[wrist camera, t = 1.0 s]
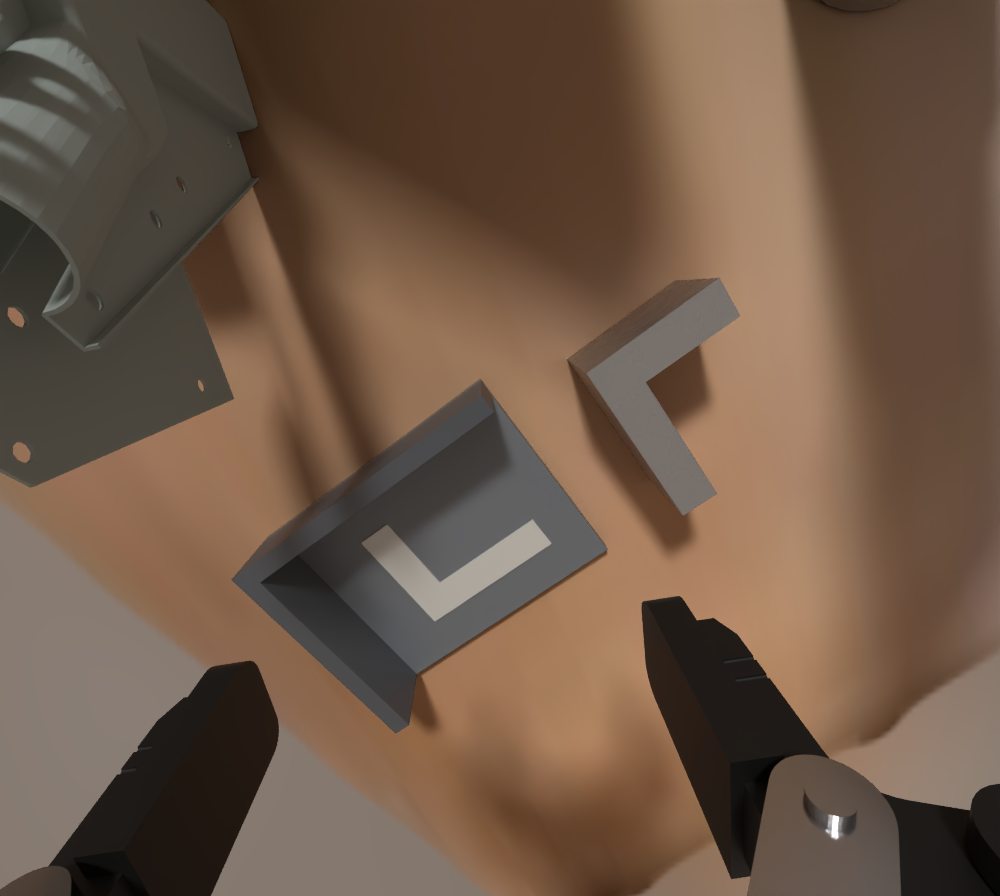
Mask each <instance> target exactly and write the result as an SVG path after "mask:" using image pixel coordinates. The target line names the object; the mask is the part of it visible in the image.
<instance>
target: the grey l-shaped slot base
mask: <svg viewBox="0 0 1000 896" xmlns="http://www.w3.org/2000/svg"><path fill="white" fill-rule="evenodd" d="M606 550H608V549H607V547H606V545H605V544H604V542H603V541H602V540H601V538H600V537H599V536H598V534H597V533H596V532H595V530H594V529H593V528H592V526H591V525H590V524H589V522H588V521H587V520H586V519H585V517H584V516H583V515H582V513H581V512H580V511H579V509H578V508H577V507H576V505H575V504H574V503H573V501H572V500H571V499H570V497H569V496H568V495H567V493H566V492H565V491H564V489H563V488H562V487H561V485H560V484H559V483H558V481H557V480H556V479H555V477H554V476H553V475H552V473H551V472H550V471H549V469H548V468H547V467H546V465H545V464H544V463H543V461H542V460H541V459H540V457H539V456H538V455H537V453H536V452H535V451H534V449H533V448H532V447H531V445H530V444H529V443H528V441H527V440H526V439H525V437H524V436H523V435H522V433H521V432H520V431H519V429H518V428H517V427H516V426H515V424H514V423H513V422H512V420H511V419H510V418H509V416H508V415H507V414H506V412H505V411H504V410H503V408H502V407H501V406H500V404H499V403H498V402H497V400H496V399H495V398H494V396H493V395H492V394H491V392H490V391H489V390H488V388H487V387H486V386H485V384H484V383H483V382H482V380H481V379H480V380H478V381H477V382H476V383H474V384H473V385H472V386H470V387H469V388H468V389H466V390H465V391H464V392H462V393H461V394H460V395H458V396H457V397H456V398H454V399H453V400H452V401H450V402H449V403H448V404H446V405H445V406H443V407H442V408H441V409H439V410H438V411H437V412H435V413H434V414H433V415H431V416H430V417H429V418H427V419H426V420H425V421H423V422H422V423H421V424H419V425H418V426H417V427H415V428H414V429H413V430H411V431H410V432H409V433H407V434H406V435H405V436H403V437H402V438H400V439H399V440H398V441H396V442H395V443H394V444H392V445H391V446H390V447H388V448H387V449H386V450H384V451H383V452H382V453H380V454H379V455H378V456H376V457H375V458H374V459H372V460H371V461H370V462H368V463H367V464H366V465H364V466H363V467H361V468H360V469H359V470H357V471H356V472H355V473H353V474H352V475H351V476H349V477H348V478H347V479H345V480H344V481H343V482H341V483H340V484H339V485H337V486H336V487H335V488H333V489H332V490H331V491H329V492H328V493H327V494H325V495H324V496H323V497H321V498H320V499H318V500H317V501H316V502H314V503H313V504H312V505H310V506H309V507H308V508H306V509H305V510H304V511H302V512H301V513H300V514H298V515H297V516H296V517H294V518H293V519H292V520H290V521H289V522H288V523H286V524H285V525H284V526H282V527H281V528H280V529H278V530H277V531H275V532H274V533H273V534H271V535H270V536H269V537H267V539H266V540H265V541H264V542H263V543H262V545H261V546H260V547H259V548H258V549H257V550H256V552H255V553H254V554H253V555H252V556H251V557H250V559H249V560H248V561H247V562H246V563H245V564H244V566H243V567H242V568H241V569H240V570H239V571H238V573H237V574H236V575H235V576H234V577H233V579H232V581H233V582H234V583H235V584H236V585H237V586H239V587H240V588H241V589H242V590H243V591H244V592H245V593H246V594H247V595H248V596H249V597H250V598H251V599H252V600H254V601H255V602H256V603H257V604H258V605H259V606H260V607H261V608H262V609H263V610H264V611H265V612H266V613H267V614H269V615H270V616H271V617H272V618H273V619H274V620H275V621H276V622H277V623H278V624H279V625H280V626H281V627H282V628H283V629H285V630H286V631H287V632H288V633H289V634H290V635H291V636H292V637H293V638H294V639H295V640H296V641H297V642H298V643H300V644H301V645H302V646H303V647H304V648H305V649H306V650H307V651H308V652H309V653H310V654H311V655H312V656H313V657H315V658H316V659H317V660H318V661H319V662H320V663H321V664H322V665H323V666H324V667H325V668H326V669H327V670H328V671H329V672H331V673H332V674H333V675H334V676H335V677H336V678H337V679H338V680H339V681H340V682H341V683H342V684H343V685H344V686H346V687H347V688H348V689H349V690H350V691H351V692H352V693H353V694H354V695H355V696H356V697H357V698H358V699H359V700H361V701H362V702H363V703H364V704H365V705H366V706H367V707H368V708H369V709H370V710H371V711H372V712H373V713H374V714H375V715H377V716H378V717H379V718H380V719H381V720H382V721H383V722H384V723H385V724H386V725H387V726H388V727H389V728H390V729H392V730H393V731H394V732H395V733H397V732H399V731H400V730H402V729H403V728H405V727H407V726H408V725H409V722H410V716H411V709H412V703H413V696H414V690H415V683H416V677H417V674H418V673H419V672H421V671H422V670H424V669H425V668H427V667H429V666H430V665H432V664H433V663H435V662H436V661H438V660H439V659H441V658H442V657H444V656H445V655H447V654H448V653H450V652H452V651H453V650H455V649H456V648H458V647H459V646H461V645H462V644H464V643H465V642H467V641H468V640H470V639H471V638H473V637H474V636H476V635H478V634H479V633H481V632H482V631H484V630H485V629H487V628H488V627H490V626H491V625H493V624H494V623H496V622H497V621H499V620H501V619H502V618H504V617H505V616H507V615H508V614H510V613H511V612H513V611H514V610H516V609H517V608H519V607H520V606H522V605H523V604H525V603H527V602H528V601H530V600H531V599H533V598H534V597H536V596H537V595H539V594H540V593H542V592H543V591H545V590H546V589H548V588H549V587H551V586H553V585H554V584H556V583H557V582H559V581H560V580H562V579H563V578H565V577H566V576H568V575H569V574H571V573H572V572H574V571H576V570H577V569H579V568H580V567H582V566H583V565H585V564H586V563H588V562H589V561H591V560H592V559H594V558H595V557H597V556H598V555H600V554H602V553H603V552H605V551H606Z"/></svg>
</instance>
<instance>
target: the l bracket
mask: <svg viewBox="0 0 1000 896" xmlns="http://www.w3.org/2000/svg"><path fill="white" fill-rule="evenodd" d="M738 317H740V314H739V313H738V311H737V309H736V307H735V305H734V303H733V302H732V300H731V298H730V296H729V294H728V293H727V291H726V289H725V287H724V285H723V283H722V282H721V280H720V278H709V279H693V280H677V281H674V282H673V283H671V284H670V285H669V286H667V287H666V288H664V289H663V290H662V291H660V292H659V293H658V294H656V295H655V296H653V297H652V298H651V299H649V300H648V301H647V302H645V303H644V304H642V305H641V306H640V307H638V308H637V309H636V310H634V311H633V312H631V313H630V314H629V315H627V316H626V317H625V318H623V319H622V320H620V321H619V322H618V323H616V324H615V325H614V326H612V327H611V328H609V329H608V330H607V331H605V332H604V333H603V334H601V335H600V336H598V337H597V338H596V339H594V340H593V341H592V342H590V343H589V344H588V345H586V346H585V347H583V348H582V349H581V350H579V351H578V352H577V353H575V354H574V355H572V356H571V357H570V358H568V359H567V360H568V361H569V363H570V364H571V366H572V367H573V369H574V370H575V372H576V373H577V375H578V376H579V377H580V379H581V380H582V382H583V383H584V385H585V386H586V388H587V389H588V391H589V392H590V394H591V395H592V396H593V398H594V399H595V401H596V402H597V404H598V405H599V407H600V408H601V410H602V411H603V413H604V414H605V415H606V417H607V418H608V420H609V421H610V423H611V424H612V426H613V427H614V429H615V430H616V432H617V433H618V434H619V436H620V437H621V439H622V440H623V442H624V443H625V445H626V446H627V448H628V449H629V451H630V452H631V453H632V455H633V456H634V458H635V459H636V461H637V462H638V464H639V465H640V467H641V468H642V470H643V471H644V472H645V474H646V475H647V477H648V478H649V480H650V481H651V482H652V483H653V484H654V485H655V486H656V487H657V488H658V490H659V491H660V492H661V493H662V494H663V495H664V496H665V497H666V498H667V499H668V500H669V501H670V502H671V503H672V505H673V506H674V507H675V508H676V509H677V510H678V511H679V512H680V513H681V514H682V515H685V514H687V513H688V512H690V511H691V510H693V509H694V508H696V507H697V506H699V505H700V504H702V503H704V502H705V501H707V500H708V499H710V498H711V497H713V496H714V495H716V494H717V492H716V491H715V489H714V488H713V486H712V485H711V483H710V482H709V480H708V478H707V477H706V475H705V474H704V472H703V471H702V469H701V467H700V466H699V464H698V463H697V461H696V460H695V458H694V457H693V455H692V453H691V452H690V450H689V449H688V447H687V446H686V444H685V443H684V441H683V439H682V438H681V436H680V435H679V433H678V432H677V430H676V428H675V427H674V425H673V424H672V422H671V421H670V419H669V418H668V416H667V414H666V413H665V411H664V410H663V408H662V407H661V405H660V404H659V402H658V400H657V399H656V397H655V396H654V394H653V393H652V391H651V389H650V388H649V386H648V385H647V383H646V382H647V381H648V380H650V379H651V378H653V377H654V376H655V375H657V374H658V373H660V372H661V371H663V370H664V369H665V368H667V367H668V366H670V365H671V364H673V363H674V362H675V361H677V360H678V359H680V358H681V357H683V356H684V355H685V354H687V353H688V352H690V351H691V350H693V349H694V348H695V347H697V346H698V345H700V344H701V343H703V342H704V341H705V340H707V339H708V338H710V337H711V336H713V335H714V334H715V333H717V332H718V331H720V330H721V329H722V328H724V327H725V326H727V325H728V324H730V323H731V322H732V321H734V320H735V319H737V318H738Z"/></svg>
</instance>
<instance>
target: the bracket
mask: <svg viewBox="0 0 1000 896" xmlns="http://www.w3.org/2000/svg"><path fill="white" fill-rule="evenodd" d="M257 125H258V122H257V119H256V115H255V112H254V109H253V106H252V102H251V99H250V96H249V93H248V90H247V86H246V83H245V80H244V77H243V73H242V70H241V67H240V64H239V60H238V57H237V54H236V51H235V48H234V44H233V41H232V38H231V35H230V31H229V28H228V25H227V23H226V21H225V20H224V19H223V18H222V17H221V16H220V14H219V13H218V12H217V11H216V10H215V9H214V8H213V7H212V6H211V5H210V4H209V2H208V1H207V0H0V472H1V473H3V474H5V475H7V476H9V477H11V478H13V479H15V480H17V481H19V482H21V483H23V484H24V485H26V486H28V487H34V486H36V485H39V484H41V483H43V482H45V481H48V480H50V479H52V478H55V477H57V476H59V475H61V474H64V473H66V472H68V471H71V470H73V469H75V468H77V467H80V466H82V465H84V464H87V463H89V462H91V461H93V460H96V459H98V458H100V457H103V456H105V455H107V454H109V453H112V452H114V451H116V450H119V449H121V448H123V447H125V446H128V445H130V444H132V443H135V442H137V441H139V440H141V439H144V438H146V437H148V436H151V435H153V434H155V433H157V432H160V431H162V430H164V429H167V428H169V427H171V426H173V425H176V424H178V423H180V422H183V421H185V420H187V419H189V418H192V417H194V416H196V415H199V414H201V413H203V412H205V411H208V410H210V409H212V408H215V407H217V406H219V405H221V404H224V403H226V402H228V401H231V400H233V399H234V397H233V394H232V392H231V389H230V387H229V384H228V381H227V379H226V376H225V373H224V371H223V368H222V365H221V363H220V360H219V358H218V355H217V352H216V350H215V347H214V344H213V342H212V339H211V336H210V334H209V331H208V329H207V326H206V323H205V321H204V318H203V315H202V313H201V310H200V308H199V305H198V302H197V300H196V297H195V294H194V292H193V289H192V286H191V284H190V281H189V279H188V276H187V273H186V271H185V268H184V265H183V263H182V261H183V260H184V259H185V258H186V257H187V256H188V255H189V254H190V253H191V252H192V251H193V250H194V249H195V248H196V246H197V245H198V244H199V243H200V242H201V241H202V240H203V239H204V238H205V237H206V236H207V235H208V234H209V233H210V231H211V230H212V229H213V228H214V227H215V226H216V225H217V224H218V223H219V222H220V221H221V220H222V219H223V218H224V217H225V215H226V214H227V213H228V212H229V211H230V210H231V209H232V208H233V207H234V206H235V205H236V204H237V203H238V202H239V200H240V199H241V198H242V197H243V196H244V195H245V194H246V193H247V192H248V191H249V190H250V189H251V188H252V187H253V186H254V184H255V183H256V182H257V181H258V180H259V178H258V177H255V178H251V175H250V172H249V169H248V165H247V162H246V159H245V156H244V153H243V150H242V147H241V144H240V141H239V138H238V134H237V133H239V132H243V131H247V130H252V129H255V128H256V127H257ZM225 138H226V139H225ZM226 140H227V141H228V143H229V146H230V148H229V147H228V145H227V143H226ZM177 178H178V179H179V180H180V182H181V183H182V185H183V188H184V192H183V191H182V190H181V189H180V187H179V185H178V183H177ZM8 307H12V308H16V309H17V310H18V311H19V312H20V313H21V314H22V315H23V318H24V321H25V323H24V326H23V327H19V326H16V325H15V324H14V323H12V322H11V320H10V318H9V317H8V315H7V313H8ZM198 380H200V381H201V382H202V384H203V386H204V391H203V392H202V391H201V390H200V388H199V386H198ZM16 442H21V443H23V444H25V445H26V446H27V447H28V449H29V450H30V452H31V455H30V460H29V461H28V462H27V463H22V462H21V461H19V460H17V459H16V457H15V456H14V455H13V446H14V444H15V443H16Z"/></svg>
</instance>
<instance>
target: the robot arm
mask: <svg viewBox="0 0 1000 896" xmlns="http://www.w3.org/2000/svg"><path fill="white" fill-rule="evenodd" d="M821 1H823V2H824V3H826V4H827V5H829V6H833V7H836V8H839V9H843V10H846V11H870V10H874V9H879V8H883V7H887V6H890V5H892V4H894V3H896V2H898V1H900V0H821ZM642 621H643V634H644V648H645V661H646V668H647V673H648V678H649V682H650V685H651V689H652V692H653V695H654V697H655V700H656V702H657V704H658V707H659V709H660V711H661V714H662V716H663V718H664V721H665V723H666V726H667V728H668V730H669V733H670V735H671V737H672V740H673V742H674V744H675V747H676V749H677V752H678V754H679V756H680V759H681V761H682V763H683V766H684V768H685V771H686V773H687V775H688V778H689V780H690V782H691V785H692V787H693V789H694V792H695V794H696V797H697V799H698V801H699V804H700V806H701V808H702V811H703V813H704V815H705V818H706V820H707V823H708V825H709V827H710V830H711V832H712V834H713V837H714V839H715V842H716V844H717V846H718V849H719V851H720V853H721V855H722V858H723V860H724V863H725V865H726V867H727V870H728V872H729V875H730V877H731V879H734V878H742V877H748V876H751V877H750V883H749V887H748V893H747V896H1000V784H995V785H989V786H987V787H984V788H982V789H981V790H979V791H978V792H977V793H976V794H975V796H974V798H973V799H972V804H971V809H970V811H969V810H963V809H958V808H952V807H945V806H939V805H933V804H927V803H921V802H915V801H909V800H904V799H900V798H895V797H892V796H889V795H886V794H883V793H881V792H880V791H879V790H878V789H877V788H876V787H875V786H874V785H873V784H872V783H870V782H869V781H868V780H867V779H866V778H865V777H864V776H862V775H861V774H859V773H857V772H856V771H855V770H853V769H851V768H850V767H848V766H846V765H844V764H842V763H839V762H837V761H835V760H832V759H830V758H829V757H828V756H827V755H826V754H825V752H824V751H823V750H822V749H821V747H820V746H819V744H818V743H817V742H816V740H815V739H814V738H813V736H812V735H811V734H810V732H809V731H808V730H807V728H806V727H805V726H804V724H803V723H802V721H801V720H800V719H799V717H798V716H797V715H796V713H795V712H794V711H793V709H792V708H791V707H790V705H789V704H788V702H787V701H786V700H785V698H784V697H783V696H782V694H781V693H780V692H779V690H778V689H777V688H776V686H775V685H774V683H773V682H772V681H771V679H770V678H767V676H766V673H765V671H764V670H763V669H762V667H761V666H760V665H759V663H758V662H757V660H754V658H753V655H752V654H751V652H750V651H749V650H748V648H747V647H746V646H745V644H744V643H743V641H742V640H741V639H740V637H739V636H738V635H737V634H736V633H735V632H733V631H732V630H730V629H729V628H727V627H726V626H724V625H723V624H721V623H720V622H718V621H717V620H716V619H714V618H711V619H705V620H698V621H697V620H696V618H695V617H694V615H693V614H692V612H691V611H690V609H689V608H688V606H687V605H686V603H685V601H684V600H683V599H682V598H681V597H680V596H676V597H669V598H663V599H656V600H650V601H643V603H642ZM278 733H279V725H278V718H277V715H276V713H275V710H274V707H273V705H272V702H271V699H270V697H269V694H268V692H267V689H266V686H265V684H264V681H263V679H262V676H261V673H260V671H259V668H258V666H257V665H256V664H255V663H254V662H253V661H245V662H238V663H232V664H225V665H219V666H213V667H211V668H210V669H208V670H207V671H206V673H205V674H204V675H203V677H202V678H201V679H200V681H199V682H198V684H197V685H196V687H195V688H194V689H193V691H192V692H191V694H190V695H189V696H188V697H186V698H183V699H182V700H181V701H179V702H178V703H177V704H176V705H175V706H174V707H173V708H171V710H169V711H168V712H167V713H166V714H165V715H164V716H162V717H161V718H160V719H159V720H158V721H157V722H156V723H155V725H154V726H153V727H152V729H151V730H150V731H149V733H148V734H147V735H146V737H145V738H144V739H143V741H142V742H141V744H140V745H139V746H138V751H137V752H134V753H133V754H132V755H131V757H130V758H129V759H128V761H127V762H126V764H125V765H124V766H123V767H122V769H121V770H122V772H121V774H120V775H116V777H115V778H114V779H113V781H112V782H111V784H110V785H109V786H108V787H107V789H106V790H105V792H104V793H103V794H102V795H101V797H100V798H99V800H98V801H97V802H96V804H95V805H94V806H93V808H92V809H91V810H90V812H89V813H88V814H87V816H86V817H85V818H84V820H83V821H82V822H81V824H80V825H79V826H78V828H77V829H76V830H75V832H74V833H73V834H72V836H71V837H70V838H69V840H68V841H67V842H66V844H65V845H64V846H63V848H62V849H61V850H60V852H59V853H58V854H57V856H56V857H55V858H54V860H53V861H52V862H51V864H50V865H49V866H48V867H43V868H40V869H37V870H34V871H32V872H29V873H27V874H25V875H23V876H21V877H19V878H18V879H16V880H14V881H12V882H11V883H9V884H8V885H6V886H5V887H3V888H2V889H0V896H211V894H212V892H213V890H214V887H215V885H216V882H217V881H218V878H219V876H220V873H221V872H222V869H223V867H224V865H225V863H226V860H227V858H228V856H229V854H230V851H231V849H232V847H233V845H234V842H235V840H236V838H237V835H238V833H239V831H240V829H241V827H242V824H243V822H244V820H245V818H246V815H247V813H248V811H249V809H250V806H251V804H252V802H253V800H254V797H255V795H256V793H257V791H258V789H259V786H260V784H261V782H262V779H263V777H264V775H265V772H266V771H267V768H268V766H269V764H270V761H271V759H272V756H273V755H274V752H275V750H276V746H277V742H278Z"/></svg>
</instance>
